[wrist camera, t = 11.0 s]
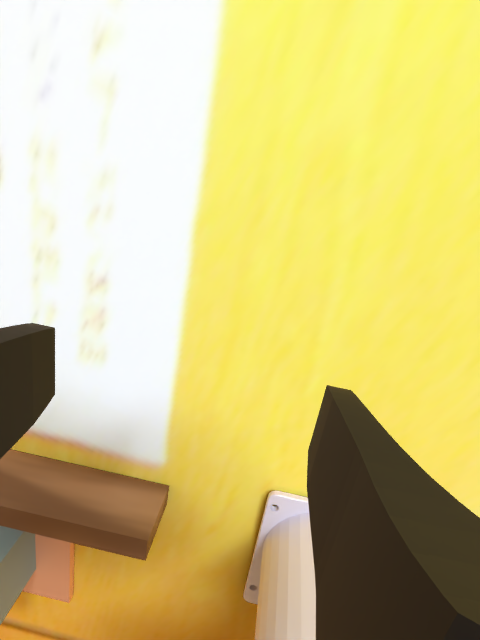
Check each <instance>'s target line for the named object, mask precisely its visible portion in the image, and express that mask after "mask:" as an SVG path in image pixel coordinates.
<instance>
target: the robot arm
mask: <svg viewBox="0 0 480 640" xmlns="http://www.w3.org/2000/svg"><path fill="white" fill-rule="evenodd" d="M54 395H55V328H53V327H48V326H44V325H39V324H34V323H30V324H21V325H15V326H10V327H5V328H0V459H1V458H2V457H3V456H4V455H5V454H6V453H7V452H8V451H9V450H10V449H11V448H12V446H13V445H14V444H15V443H16V442H17V441H18V440H19V439H20V438H21V437H22V436H23V435H24V434H25V433H26V432H27V431H28V430H29V429H30V427H31V426H32V425H33V424H34V423H35V422H36V420H37V419H38V418H39V416H40V415H41V414H42V412H43V411H44V409H45V408H46V407H47V405H48V404H49V402H50V401H51V399H52V398H53V396H54ZM307 492H308V497H303V496H299V495H294V494H290V493H285V492H281V491H271V492H270V493H269V495H268V498H267V502H266V506H265V509H264V513H263V517H262V521H261V525H260V529H259V533H258V537H257V541H256V545H255V549H254V553H253V557H252V561H251V565H250V569H249V573H248V577H247V581H246V585H245V589H244V594H243V598H244V599H245V600H246V601H247V602H249V603H254V604H258V606H257V617H256V629H255V640H480V518H479V517H478V516H476V515H475V514H474V513H473V512H471V511H470V510H469V509H468V508H466V507H465V506H464V505H463V504H461V503H460V502H459V501H458V500H457V499H455V498H454V497H453V496H452V495H451V494H450V493H449V492H447V491H446V490H445V489H444V488H443V487H442V486H440V485H439V484H438V483H437V482H436V481H435V480H434V479H433V478H431V477H430V476H429V475H428V474H427V473H426V472H425V471H424V470H423V469H422V468H421V467H420V466H419V465H418V464H417V463H416V462H415V461H414V460H413V459H412V458H411V457H410V456H409V455H408V454H407V453H406V452H405V451H404V450H403V449H402V448H401V447H400V446H399V445H398V443H397V442H396V441H395V440H394V439H393V438H392V437H391V436H390V435H389V434H388V432H387V431H386V430H385V429H384V428H383V427H382V426H381V424H380V423H379V422H378V421H377V420H376V419H375V417H374V416H373V415H372V414H371V413H370V411H369V410H368V409H367V408H366V407H365V406H364V404H363V403H362V402H361V401H360V400H359V398H358V397H357V396H356V395H355V394H354V393H353V392H352V391H351V390H347V389H342V388H337V387H333V386H328V385H327V387H326V390H325V394H324V397H323V401H322V404H321V408H320V411H319V415H318V418H317V422H316V425H315V429H314V432H313V436H312V439H311V443H310V446H309V450H308V469H307ZM272 505H277V506H272Z"/></svg>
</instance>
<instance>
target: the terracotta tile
mask: <svg viewBox="0 0 480 640" xmlns="http://www.w3.org/2000/svg"><path fill="white" fill-rule="evenodd" d="M35 546H36V570H35V571H34V573H33V575H32V576H31V578H30V579H29V581H28V582H27V584H26V586H25V587H24V589H23V590H22V591H24V592H28V593H32V594H36V595H40V596H44V597H48V598H52V599H56V600H60V601H64V602H68V603H69V602H70V600H71V598H72V596H73V586H74V543H70V542H66V541H62V540H58V539H54V538H50V537H45V536H41V535H37V534H35Z"/></svg>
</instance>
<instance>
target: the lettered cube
mask: <svg viewBox="0 0 480 640" xmlns="http://www.w3.org/2000/svg"><path fill="white" fill-rule="evenodd" d="M35 570H36V546H35V534H33V533H29V532H25V531H21V530H16V529H12V528H8V527H4V526H0V625H1V623H2V622H3V620H4V619H5V617H6V615H7V614H8V612H9V611H10V609H11V608H12V606H13V604H14V603H15V601H16V600H17V598H18V597H19V595H20V593H21V592H22V590H23V589H24V587H25V586H26V584H27V582H28V581H29V579H30V578H31V576H32V575H33V573H34V571H35Z"/></svg>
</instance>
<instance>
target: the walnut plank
mask: <svg viewBox="0 0 480 640" xmlns="http://www.w3.org/2000/svg"><path fill="white" fill-rule="evenodd" d="M168 491H169V486H168V485H163V484H159V483H155V482H150V481H146V480H141V479H137V478H133V477H128V476H124V475H120V474H115V473H111V472H107V471H102V470H98V469H94V468H89V467H85V466H80V465H76V464H72V463H67V462H63V461H59V460H54V459H50V458H46V457H41V456H37V455H33V454H28V453H24V452H19V451H15V450H11V449H10V450H9V451H8V452H7V453H6V454H5V455H4V456H3V457H2V458H1V459H0V526H4V527H8V528H12V529H16V530H21V531H25V532H29V533H33V534H37V535H41V536H45V537H50V538H54V539H58V540H62V541H66V542H70V543H75V544H79V545H83V546H87V547H91V548H95V549H99V550H104V551H108V552H112V553H116V554H120V555H124V556H129V557H133V558H137V559H141V560H146V558H147V555H148V552H149V550H150V547H151V544H152V542H153V539H154V536H155V534H156V531H157V528H158V526H159V523H160V521H161V518H162V515H163V513H164V510H165V507H166V505H167V498H168Z"/></svg>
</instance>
